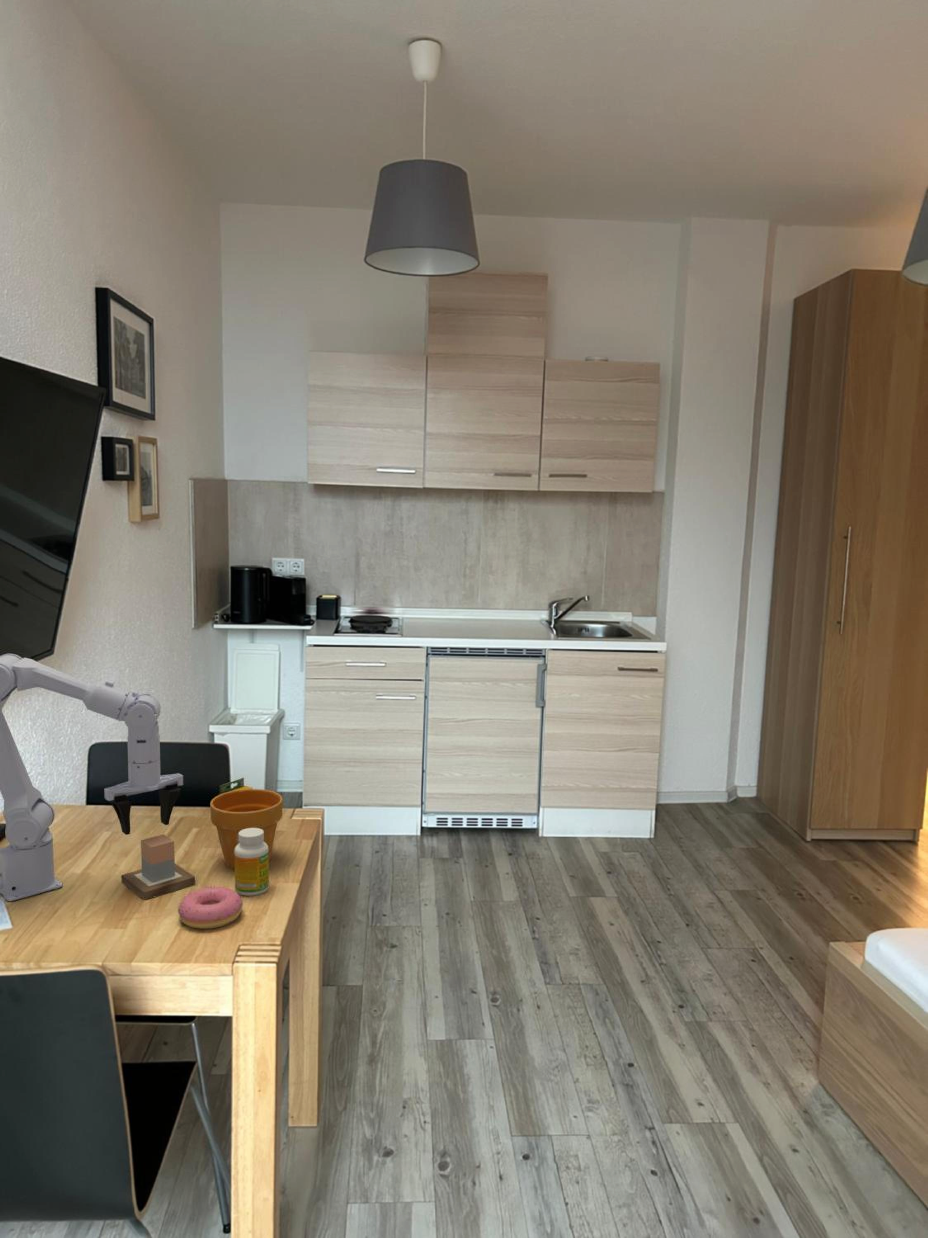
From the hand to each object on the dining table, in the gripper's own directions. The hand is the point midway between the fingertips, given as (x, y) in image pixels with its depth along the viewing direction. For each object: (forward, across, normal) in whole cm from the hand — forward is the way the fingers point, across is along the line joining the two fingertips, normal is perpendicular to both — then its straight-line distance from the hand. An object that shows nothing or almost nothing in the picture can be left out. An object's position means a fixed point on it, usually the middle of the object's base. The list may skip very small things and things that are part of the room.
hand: (145, 828), depth 165 cm
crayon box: (+10, +25, +10) cm, 29 cm away
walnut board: (+10, +1, -3) cm, 11 cm away
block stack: (+9, +1, -3) cm, 9 cm away
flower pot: (+10, +19, -5) cm, 22 cm away
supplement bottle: (+10, +13, -17) cm, 24 cm away
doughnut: (+11, +2, -22) cm, 25 cm away
